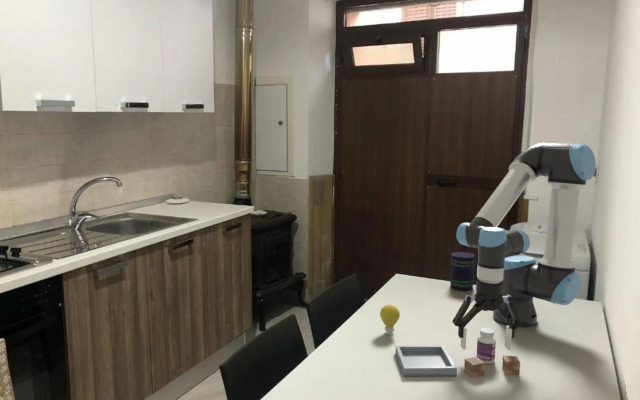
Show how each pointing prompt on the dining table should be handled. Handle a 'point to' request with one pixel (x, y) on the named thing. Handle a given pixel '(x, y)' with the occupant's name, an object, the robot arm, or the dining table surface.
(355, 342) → the dining table surface
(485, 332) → the pill bottle
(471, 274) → the storage jar
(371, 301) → the dining table surface
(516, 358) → the walnut block
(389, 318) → the light bulb
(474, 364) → the walnut block
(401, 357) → the tray
